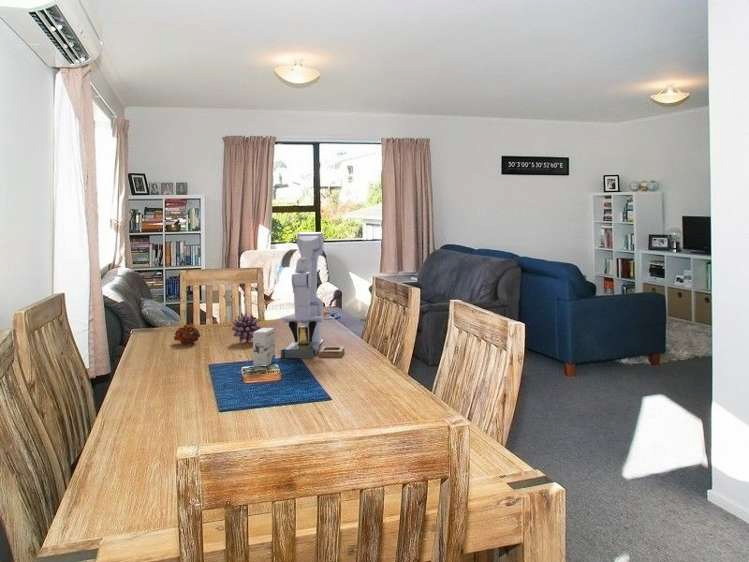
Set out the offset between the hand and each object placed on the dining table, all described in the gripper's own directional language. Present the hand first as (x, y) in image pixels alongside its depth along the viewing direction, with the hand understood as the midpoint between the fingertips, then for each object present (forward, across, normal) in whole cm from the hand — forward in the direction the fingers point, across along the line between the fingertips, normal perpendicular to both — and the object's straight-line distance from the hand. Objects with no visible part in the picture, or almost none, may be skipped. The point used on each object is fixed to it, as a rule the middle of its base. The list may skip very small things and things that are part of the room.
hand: (303, 341), depth 228 cm
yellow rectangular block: (+4, 0, 0) cm, 4 cm away
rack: (+4, +11, -4) cm, 12 cm away
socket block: (+4, 0, -2) cm, 5 cm away
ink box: (+4, -10, -18) cm, 21 cm away
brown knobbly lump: (+4, -51, +18) cm, 54 cm away
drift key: (+4, -2, -7) cm, 8 cm away
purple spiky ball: (+4, -27, +20) cm, 34 cm away
